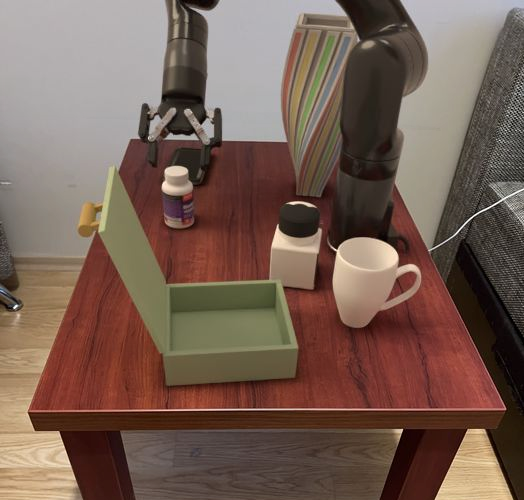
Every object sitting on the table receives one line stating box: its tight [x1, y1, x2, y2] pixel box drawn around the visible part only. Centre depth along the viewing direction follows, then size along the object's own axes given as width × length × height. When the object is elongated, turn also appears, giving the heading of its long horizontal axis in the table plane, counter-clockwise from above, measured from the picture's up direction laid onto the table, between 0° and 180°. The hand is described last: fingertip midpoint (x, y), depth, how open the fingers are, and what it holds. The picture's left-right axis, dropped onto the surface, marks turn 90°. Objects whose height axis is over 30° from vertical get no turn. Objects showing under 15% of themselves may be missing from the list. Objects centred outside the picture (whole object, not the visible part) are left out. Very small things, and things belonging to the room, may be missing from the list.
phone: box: [162, 147, 212, 186], centre depth 114 cm, size 8×1×15 cm
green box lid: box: [76, 165, 167, 355], centre depth 64 cm, size 17×15×4 cm
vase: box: [280, 12, 359, 198], centre depth 99 cm, size 14×14×30 cm
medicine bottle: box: [268, 201, 323, 291], centre depth 84 cm, size 7×7×12 cm
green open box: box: [162, 279, 299, 387], centre depth 73 cm, size 17×15×5 cm
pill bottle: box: [161, 166, 195, 229], centre depth 95 cm, size 5×5×10 cm
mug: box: [332, 237, 422, 329], centre depth 76 cm, size 12×8×11 cm
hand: (178, 167), depth 94 cm, fingers open, 8 cm apart
